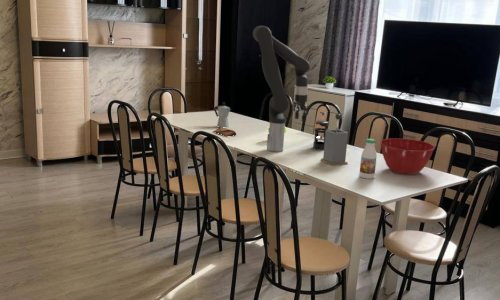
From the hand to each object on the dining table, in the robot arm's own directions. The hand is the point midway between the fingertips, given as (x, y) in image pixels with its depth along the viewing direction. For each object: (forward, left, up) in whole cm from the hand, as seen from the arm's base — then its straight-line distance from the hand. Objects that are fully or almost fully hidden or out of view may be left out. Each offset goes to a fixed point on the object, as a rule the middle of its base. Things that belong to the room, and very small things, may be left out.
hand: (300, 120), depth 312 cm
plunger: (+7, -30, -5) cm, 32 cm away
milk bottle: (+8, -60, -19) cm, 64 cm away
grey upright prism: (+7, -30, -19) cm, 36 cm away
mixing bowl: (+36, -55, -19) cm, 69 cm away
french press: (+18, +3, -19) cm, 26 cm away
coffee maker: (-22, +77, -19) cm, 82 cm away
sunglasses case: (-29, +53, -20) cm, 63 cm away
